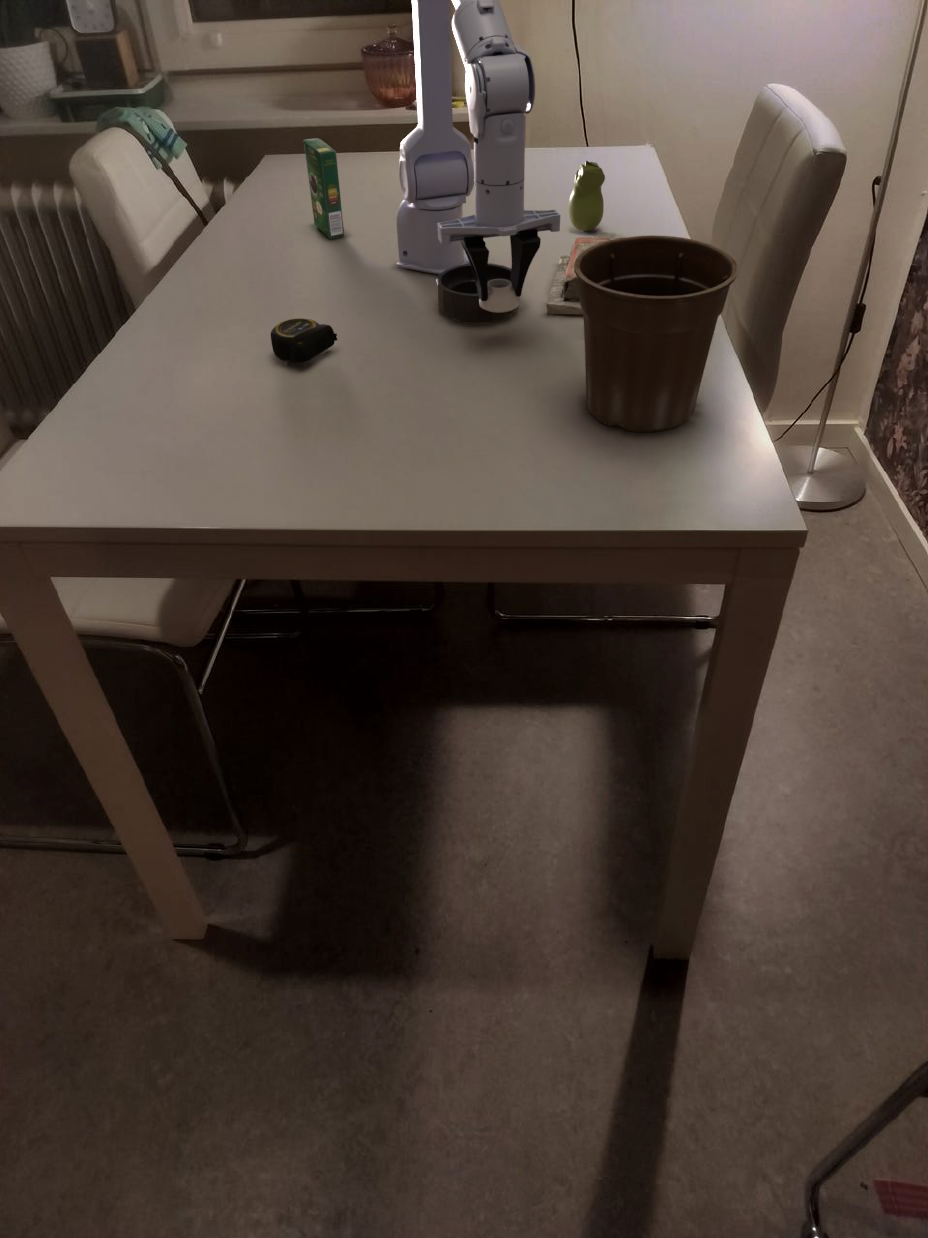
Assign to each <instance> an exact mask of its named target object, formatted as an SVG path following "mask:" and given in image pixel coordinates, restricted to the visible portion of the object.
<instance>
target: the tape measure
mask: <svg viewBox="0 0 928 1238" xmlns="http://www.w3.org/2000/svg"><path fill="white" fill-rule="evenodd" d="M337 336H338V333H336V332H335V331H334V329H333V327H332V326H331V325H330V324H326V323H321V324H320V323H319V322H317V321H316V320H314V319H312V318H311V319H310V318H305V317H299V318H298V317H296V318H289V319H286V320H283V321H281V322H278V323H277V324H275V326H273V328H271V331H270V341H271V342H270V343H271V348H272V351H273V354H274V355H275V357H276V358H278V359H279V360H281V361H284V362H289V363H297V364H305V363H308V362H310V361H311V360H312V359H315V357H317V356H319V355H320V354H322V353H323V352H324V351H327V350H328V349H330V348H332V347H333V346H334V345H335V342H336V341H338V337H337Z"/></svg>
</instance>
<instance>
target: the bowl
mask: <svg viewBox="0 0 928 1238" xmlns="http://www.w3.org/2000/svg"><path fill="white" fill-rule="evenodd" d="M511 268H512V267H508V266H506V265H502V264H498V263H497V264H496V263H489V262H488V267H487V283H488V282H489V281H491V280H494V279H506V280H509V281H511ZM435 281H436V284H435V285H436V303H437V304H436V305H437V308H438V311H439V312H440V313H441V314H442V315H443V316H445V317H447V318H450V319H452V320H455V321H457V322H461V323H469V324H485V323H487V324H488V323H492V322H497V321H500V320H502V319H506V318H508V317H510V316H512V315H514V314H515V313H516V312H517V311H518V310H519V309H520V305H521V304H520V305H519V306H518V307H517V308H515V309H513V310H511V311H508V312H501V313H496V312H490V311H487V310H485V309H483V308H482V307H480V304H479V300H480V298H479V296H478V291H477V286H476V281H475V277H474V274H473V271H472V268H471V265H470V263H468V264H464V265H459V266H455V267H452V268H449V269H447V270H445V271H443V272H442V273H440V274H438V276H437V278H436V280H435ZM519 301H520V302H521V296H519Z"/></svg>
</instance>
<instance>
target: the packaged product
mask: <svg viewBox="0 0 928 1238" xmlns="http://www.w3.org/2000/svg"><path fill="white" fill-rule="evenodd" d="M608 240H612V239H611V238H610V237H590V236H589V237H586V236H585V237H584V236H583V237H579V236H578V237H575V238H574V241H573V245H572V246H571V250H570V252H569V253H570V255H569V256H568V255H567V254H566V255H562V256H560V258H559V262H558V265H557V268H556V272H555V275H554V278H553V282H552V285H551V289H550V292H549V295H548V298H547V301H546V311H547V315H548V314H552V315H553V314H555V315H557V314H559V315H583V309H582V308H581V305H580V292H579V279H578V277H577V276H576V274H575V270H574V263H575V260H576V258H577V257H578V256H579V255H580V254H581V253H582V252H583V251H585V250H586V249H588V248H590V247H592V246H594V245H596V244H599V243H602V242H605V241H608Z"/></svg>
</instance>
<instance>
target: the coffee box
mask: <svg viewBox="0 0 928 1238" xmlns="http://www.w3.org/2000/svg"><path fill="white" fill-rule="evenodd" d="M303 146H304V155H305V162H306V169H307V178H308V185H309V193H310V194H309V195H310V201H311V207H312V216H313V224H314V225H315V226H316V227H317V229H319V230H320V231H321V232H322V233H323V234H325V236H326V237H327V238H329V239H330V240H333V239H339V238H343V237H345V228H344V220H343V209H342V199H341V189H340V177H339V168H338V159H337V158H338V157H337V150H335V149H334V148H333V147H331V146H330V145H328V144H327V143H326V142H325V141H323V140H322V139H321V138H320V137H315V138H307V139H304V140H303Z"/></svg>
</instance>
